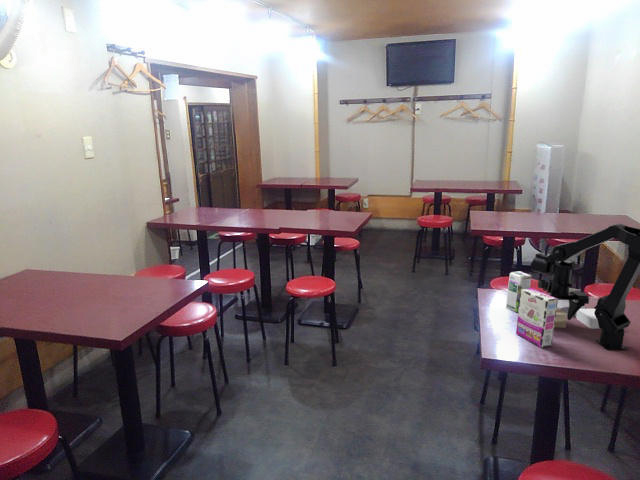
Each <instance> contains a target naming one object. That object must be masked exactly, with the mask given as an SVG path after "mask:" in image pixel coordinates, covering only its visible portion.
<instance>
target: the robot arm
mask: <svg viewBox="0 0 640 480" xmlns="http://www.w3.org/2000/svg"><path fill="white" fill-rule="evenodd" d="M614 239H616V240H617V241H618V242H620V243H622V244H624V245H627V259H626V261H625V262H624V264H623V266H622V268H621V271H620V272H619V275H618V276H617V278H616V280H615V282H614V285H613V287H612V288H611V290H610V292H609V294H606V295H604V296H601V297H600V298H598V300H597V303H596V305H595V306H594V307H593V309H596V310H595V312H594V315H595V316H596V318H597V320H598V325H599V328H601V331H600V337H599V338H596V339H595V342H596V343H597V344H599V345H600V346H602V347H603V348H604V349H605V350H607V351H609V350H610V351H611V350H612V351H613V350H627V347H626V346H625V345H624V337H625V329H626V328H628V327H629V326H630V325H631V320H630V319H629V317H628V316H627V315H626V314H625V310H626V303H627V302H626V299H627V297H628V296H629V293H630V292H631V290H632V288H633V286H634V283H636V280H637V278H638V276H639V274H640V228H637V227H632V226H628V225H626V224H623V223H615V224H613V225H609V226H608V227H605V228H604V229H601V230H599V231H596V232H595V233H592V234H589V235H587V236H585V237H583V238H581V239H577V240H575V241H574V240H573V241H570V242H566V243H562V244H558V245H555V246H554V247H553V248H552V252H550V254H549V255H546V254H544V253H540V252H539V253H536V254H535V257H534V258H533V259H532V261H531V263H530V269H531V271H532V272H536V273H539V274H543V275H546V276H549V275H551V274H552V277H551V278H550V279H549V281H546V279H538V282H537V288H538V289H542V291H540V292H542V293H544V292H547V294H549V295H550V296H552V297H555V298H557V299H558V300H569V310H568V316H567V321H571V320H572V319H573V317H575V316H574V315H575V313H576V312H577V311H578V310H579V309H580V308H581V307H582V306H585V307H586V305H589V304H590V296H588V294H586V293H585V292H583V291H582V290H575V291H574V290H571V291H570V288H571V287H573V283H571V280H572V279H571V278H572V271H574V270H575V271H576V270H578V269H579V268H580V267H579V265H578V264H577V263H576V261H570V262H568V261H569V260H574V259H575V258H577V257H578V256H580V255H581V254H583V253H584V252H585V251H587V250H588V249H591V248H594V247H596V246H598V245H601V244H604V243H606V242H609V241H611V240H614Z"/></svg>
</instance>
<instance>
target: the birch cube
mask: <svg viewBox="0 0 640 480" xmlns="http://www.w3.org/2000/svg"><path fill="white" fill-rule="evenodd" d="M567 317H568V316H567V314H566V313H565V312H564V311H562V310H561V309H557V310H556V317H555V325H554V328H567V321H568V319H567Z"/></svg>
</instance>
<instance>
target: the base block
mask: <svg viewBox="0 0 640 480" xmlns="http://www.w3.org/2000/svg"><path fill="white" fill-rule="evenodd" d="M595 310H596V309H594V308H586V309H579V310H578V311H577V314H576V316H575V318H577V320H578V321H579V322H580V323H582V324H584V325H585V326H586V327H588V328H589V329H591V330H592V329H595V330H596V329H601V328H599V325H598V320H597V318H596V316H595V315H594V312H595Z"/></svg>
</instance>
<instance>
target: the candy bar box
mask: <svg viewBox="0 0 640 480" xmlns="http://www.w3.org/2000/svg"><path fill="white" fill-rule="evenodd" d="M542 292H543V291H541V292H540V291H539V290H537V289H535V288H532V287H530V288H528V289H522V290H521V294H520V303H519V312H517V313H518V314H517V321H516V322H517V323H516V331H515V334H516V335H517V336H519V337H521V338H523V339H524V340H526V341H528V342H529V343H532V344H533V345H535V346H537V347H539V348H542V349H543V348H546V347H552V345H553V339H554V338H553V337H554V331H555V327H554V325H555V317H556V310H557V302H558V299H557V298H555V297H552V296H550V294H548V293H544V292H543V293H542Z"/></svg>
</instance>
